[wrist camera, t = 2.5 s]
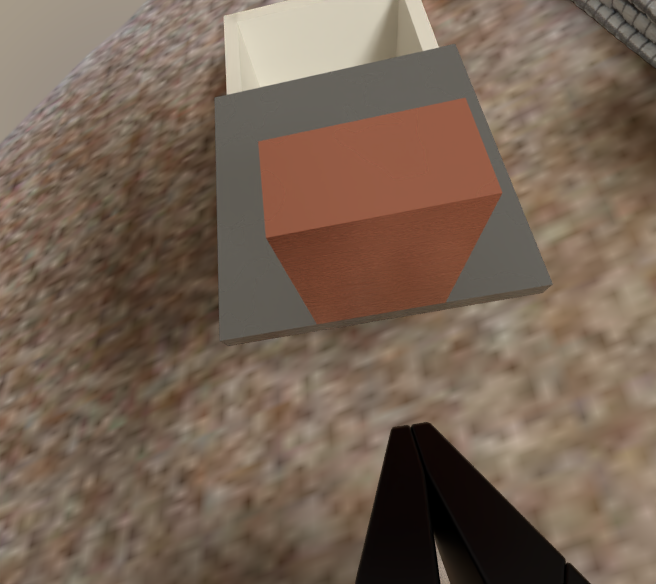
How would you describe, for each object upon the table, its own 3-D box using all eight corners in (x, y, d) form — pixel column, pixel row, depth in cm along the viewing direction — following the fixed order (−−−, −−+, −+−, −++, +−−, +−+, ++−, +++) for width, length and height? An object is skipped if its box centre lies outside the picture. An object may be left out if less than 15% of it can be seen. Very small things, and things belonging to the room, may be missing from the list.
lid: (542, 293, 12) (708, 153, 6) (228, 345, 13) (93, 270, 7) (451, 60, 17) (494, -157, 11) (221, 111, 18) (135, -63, 12)
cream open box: (446, 207, 21) (469, 129, 16) (267, 241, 22) (230, 178, 17) (403, 69, 26) (410, -29, 20) (256, 102, 27) (223, 16, 21)
